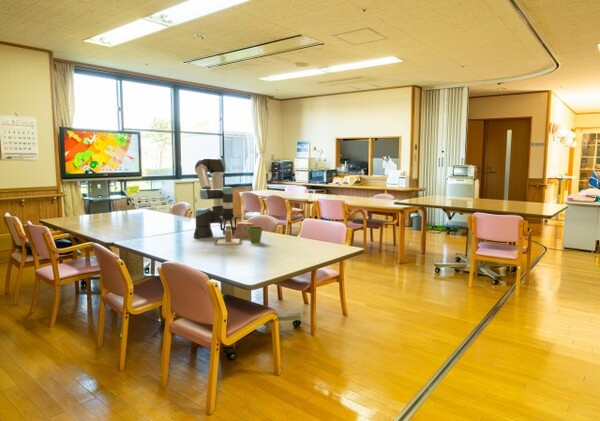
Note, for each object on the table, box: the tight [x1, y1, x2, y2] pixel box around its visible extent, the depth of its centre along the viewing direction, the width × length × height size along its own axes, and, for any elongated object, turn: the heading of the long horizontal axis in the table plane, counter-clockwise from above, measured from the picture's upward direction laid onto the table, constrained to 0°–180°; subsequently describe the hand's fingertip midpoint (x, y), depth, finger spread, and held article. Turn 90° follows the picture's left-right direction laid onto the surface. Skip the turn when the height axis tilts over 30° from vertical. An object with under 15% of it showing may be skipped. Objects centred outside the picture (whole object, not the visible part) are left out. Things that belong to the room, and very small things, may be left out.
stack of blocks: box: [225, 221, 255, 239], centre depth 326 cm, size 21×6×12 cm, turn 80°
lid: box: [217, 229, 241, 246], centre depth 305 cm, size 16×16×9 cm
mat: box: [213, 238, 243, 247], centre depth 305 cm, size 20×20×1 cm
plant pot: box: [248, 226, 264, 244], centre depth 307 cm, size 12×12×11 cm
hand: (228, 238), depth 305 cm, fingers closed on lid, 4 cm apart
